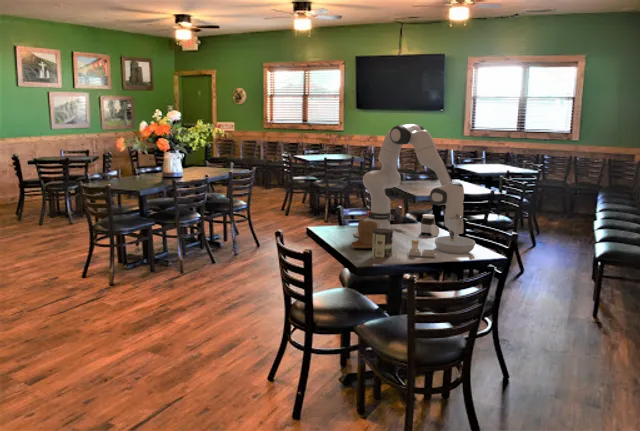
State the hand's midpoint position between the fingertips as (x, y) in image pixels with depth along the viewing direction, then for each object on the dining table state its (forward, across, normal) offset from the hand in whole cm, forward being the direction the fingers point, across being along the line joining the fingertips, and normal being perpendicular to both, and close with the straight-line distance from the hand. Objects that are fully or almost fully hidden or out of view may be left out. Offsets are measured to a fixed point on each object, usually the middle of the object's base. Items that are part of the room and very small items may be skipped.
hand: (453, 238), depth 296 cm
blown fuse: (+1, 0, 0) cm, 1 cm away
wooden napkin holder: (+7, +12, +45) cm, 47 cm away
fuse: (+6, -8, +23) cm, 25 cm away
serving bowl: (+8, +1, -1) cm, 8 cm away
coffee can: (+8, -7, +40) cm, 41 cm away
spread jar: (+7, +43, 0) cm, 43 cm away
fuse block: (+8, -9, +20) cm, 23 cm away
